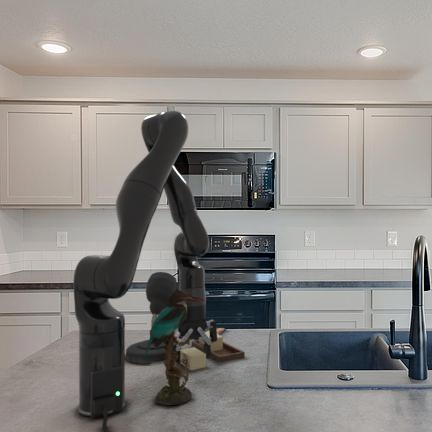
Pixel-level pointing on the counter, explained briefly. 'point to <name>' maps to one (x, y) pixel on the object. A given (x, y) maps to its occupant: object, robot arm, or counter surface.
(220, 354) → the frame
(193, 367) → the pad
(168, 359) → the sculpture
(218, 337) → the pad
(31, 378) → the counter surface
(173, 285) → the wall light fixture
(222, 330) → the smartphone
